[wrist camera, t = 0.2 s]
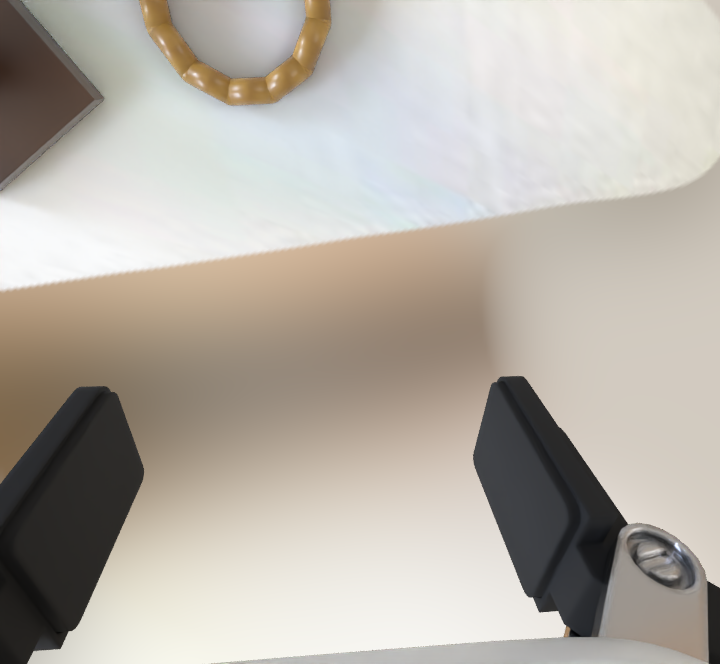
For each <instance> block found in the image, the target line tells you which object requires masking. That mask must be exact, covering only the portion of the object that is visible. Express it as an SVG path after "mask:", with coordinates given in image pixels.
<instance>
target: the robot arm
mask: <svg viewBox="0 0 720 664" xmlns="http://www.w3.org/2000/svg"><path fill="white" fill-rule="evenodd" d="M473 460H474V465H475V469H476V471H477V474H478V476H479V479H480V481H481V484H482V487H483V489H484V492H485V494H486V497H487V499H488V502H489V504H490V507H491V509H492V512H493V514H494V517H495V519H496V522H497V524H498V527H499V530H500V532H501V534H502V537H503V540H504V542H505V545H506V547H507V550H508V552H509V555H510V557H511V560H512V562H513V565H514V567H515V570H516V572H517V575H518V578H519V580H520V583H521V585H522V588H523V590H524V592H525V593H526V595H527V596H528V597H533V598H534V601H535V603H536V606H537V608H538V611H539V612H550V611H559V614H560V616H561V618H562V620H563V622H564V624H565V625H566V630H565V634H564V637H560V638H544V639H526V640H507V641H491V642H477V643H465V644H451V645H438V646H425V647H412V648H400V649H385V650H372V651H360V652H349V653H336V654H323V655H311V656H300V657H286V658H274V659H262V660H250V661H237V662H226V663H214V664H720V588H719V587H717V586H715V585H714V584H712V583H710V582H708V581H707V579H706V574H705V570H704V569H703V567H702V565H701V563H700V561H699V560H698V558H697V557H696V556H695V555H694V553H693V552H692V551H691V550H690V549H689V548H688V547H687V546H686V545H685V544H684V543H682V542H681V541H680V540H679V539H677V538H676V537H675V536H673V535H671V534H669V533H668V532H666V531H664V530H663V529H660V528H657V527H655V526H652V525H648V524H642V523H635V524H627V522H626V521H625V519H624V518H623V516H622V515H621V513H620V512H619V510H618V509H617V507H616V506H615V505H614V503H613V502H612V500H611V499H610V497H609V496H608V495H607V493H606V492H605V490H604V489H603V487H602V486H601V484H600V483H599V481H598V480H597V478H596V477H595V476H594V474H593V473H592V471H591V470H590V468H589V467H588V465H587V464H586V462H585V461H584V460H583V458H582V457H581V455H580V454H579V452H578V451H577V449H576V448H575V447H574V445H573V444H572V442H571V441H570V439H569V438H568V436H567V435H566V433H565V432H564V431H563V430H562V429H561V428H559V427H558V425H557V424H556V422H555V421H554V419H553V418H552V416H551V415H550V414H549V412H548V411H547V409H546V408H545V406H544V405H543V403H542V402H541V400H540V399H539V397H538V396H537V394H536V393H535V392H534V390H533V389H532V387H531V386H530V384H529V383H528V381H527V380H526V379H525V378H524V377H522V376H510V377H500V378H499V379H498V381H497V382H494V383H492V385H491V388H490V391H489V395H488V399H487V403H486V407H485V411H484V415H483V419H482V422H481V426H480V430H479V434H478V438H477V442H476V446H475V450H474V454H473ZM143 476H144V468H143V464H142V462H141V459H140V456H139V453H138V451H137V448H136V445H135V442H134V440H133V437H132V434H131V431H130V428H129V426H128V423H127V420H126V418H125V414H124V412H123V409H122V406H121V403H120V401H119V398H118V396H117V394H116V393H115V392H111V391H110V390H109V388H107V387H105V386H97V387H79V388H77V389H76V390H75V391H74V392H73V393H72V394H71V396H70V397H69V398H68V399H67V401H66V402H65V403H64V404H63V406H62V407H61V408H60V409H59V411H58V412H57V413H56V415H55V416H54V417H53V418H52V420H51V421H50V422H49V423H48V424H47V426H46V427H45V428H44V430H43V431H42V432H41V433H40V435H39V436H38V437H37V438H36V440H35V441H34V442H33V443H32V445H31V446H30V447H29V449H28V450H27V451H26V452H25V454H24V455H23V456H22V457H21V459H20V460H19V461H18V462H17V464H16V465H15V466H14V467H13V469H12V470H11V471H10V472H9V474H8V475H7V476H6V478H5V479H4V480H3V481H2V483H1V484H0V664H27V663H28V661H29V659H30V657H31V655H32V653H33V651H38V650H52V649H61V647H62V645H63V642H64V640H65V638H66V636H67V634H68V631H72V630H74V629H75V628H76V627H77V625H78V624H79V622H80V620H81V618H82V616H83V614H84V612H85V609H86V607H87V605H88V603H89V600H90V598H91V596H92V593H93V591H94V589H95V587H96V584H97V582H98V580H99V578H100V575H101V573H102V571H103V569H104V566H105V564H106V562H107V560H108V557H109V555H110V553H111V551H112V548H113V546H114V544H115V542H116V539H117V537H118V535H119V533H120V530H121V528H122V526H123V524H124V521H125V519H126V517H127V515H128V512H129V510H130V508H131V505H132V503H133V501H134V499H135V497H136V494H137V492H138V490H139V488H140V485H141V483H142V480H143Z"/></svg>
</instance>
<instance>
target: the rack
mask: <svg viewBox="0 0 720 664" xmlns="http://www.w3.org/2000/svg"><path fill="white" fill-rule="evenodd" d="M103 100H104V97H103V96H102V95H101V94H100V93H99V91H98V90H97V89H96V88H95V87H94V86H93V84H92V83H91V82H90V81H89V80H88V79H87V78H86V76H85V75H84V74H83V73H82V72H81V71H80V69H79V68H78V67H77V66H76V65H75V64H74V62H73V61H72V60H71V59H70V58H69V57H68V55H67V54H66V53H65V52H64V51H63V50H62V48H61V47H60V46H59V45H58V44H57V43H56V42H55V40H54V39H53V38H52V37H51V36H50V35H49V33H48V32H47V31H46V30H45V29H44V28H43V26H42V25H41V24H40V23H39V22H38V21H37V19H36V18H35V17H34V16H33V15H32V14H31V12H30V11H29V10H28V9H27V8H26V7H25V6H24V4H23V3H22V2H21V1H20V0H0V191H1V190H2V189H3V188H4V187H6V186H7V185H8V184H9V183H10V182H11V181H12V180H13V179H15V178H16V177H17V176H18V175H19V174H20V173H21V172H23V171H24V170H25V169H26V168H27V167H28V166H29V165H30V164H32V163H33V162H34V161H35V160H36V159H37V158H38V157H40V156H41V155H42V154H43V153H44V152H45V151H46V150H47V149H49V148H50V147H51V146H52V145H53V144H54V143H55V142H57V141H58V140H59V139H60V138H61V137H62V136H63V135H64V134H66V133H67V132H68V131H69V130H70V129H71V128H72V127H74V126H75V125H76V124H77V123H78V122H79V121H80V120H81V119H83V118H84V117H85V116H86V115H87V114H88V113H89V112H91V111H92V110H93V109H94V108H95V107H96V106H97V105H98V104H100V103H101V102H102V101H103Z"/></svg>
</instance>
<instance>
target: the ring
mask: <svg viewBox="0 0 720 664" xmlns="http://www.w3.org/2000/svg"><path fill="white" fill-rule="evenodd" d="M139 2H140V6H141V10H142V14H143V17H144V21H145V25H146V29H147V31H148V33H149V35H150V36H151V38H152V39H153V40H154V42H155V43H156V44H157V46H158V47H159V48H160V50H161V51H162V52H163V54H164V55H165V57H166V58H167V59H168V61H169V62H170V63H171V65H172V66H173V67H174V69H175V70H176V71H177V73H178V74H179V75H180V77H181V78H182V79H183V80H184V81H185V82H187V83H188V84H190V85H192V86H194V87H196V88H198V89H200V90H201V91H203V92H205V93H207V94H209V95H211V96H213V97H214V98H216V99H218V100H220V101H222V102H224V103H226V104H228V105H231V106H234V105H254V104H272V103H276V102H278V101H279V100H280V99H282V98H283V97H284V96H285V95H287V94H288V93H289V92H291V91H292V90H293V89H294V88H296V87H297V86H298V85H300V84H301V83H302V82H303V81H305V80H306V79H307V78H309V77H310V76H311V74H312V73H313V70H314V68H315V65H316V63H317V60H318V58H319V55H320V53H321V50H322V47H323V45H324V42H325V40H326V37H327V35H328V32H329V30H330V27H331V10H330V0H305V10H306V19H305V22H304V25H303V27H302V30H301V33H300V36H299V38H298V41H297V44H296V47H295V49H294V52H293V55H292V56H291V57H290V58H288V59H287V60H286V61H285V62H283V63H282V64H281V65H280V66H278V67H277V68H276V69H275V70H273V71H272V72H271V73H270V74H268V75H267V76H266V77H253V78H232V79H231V78H230V77H228V76H226V75H224V74H222V73H221V72H219V71H217V70H215V69H214V68H212V67H210V66H208V65H206V64H205V63H203V62H201V61H199V60H198V59H197V58H196V56H195V55H194V54H193V52H192V51H191V49H190V48H189V47H188V45H187V44H186V42H185V41H184V40H183V38H182V37H181V35H180V34H179V33H178V31H177V30H176V28H175V27H174V26H173V24H172V21H171V16H170V12H169V8H168V3H167V0H139Z"/></svg>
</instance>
